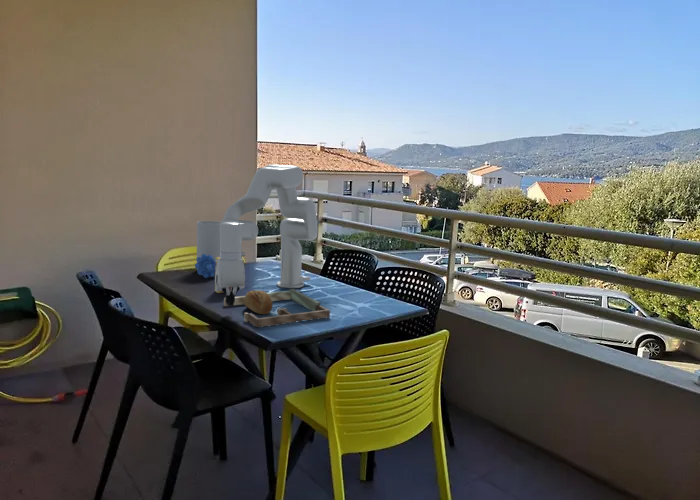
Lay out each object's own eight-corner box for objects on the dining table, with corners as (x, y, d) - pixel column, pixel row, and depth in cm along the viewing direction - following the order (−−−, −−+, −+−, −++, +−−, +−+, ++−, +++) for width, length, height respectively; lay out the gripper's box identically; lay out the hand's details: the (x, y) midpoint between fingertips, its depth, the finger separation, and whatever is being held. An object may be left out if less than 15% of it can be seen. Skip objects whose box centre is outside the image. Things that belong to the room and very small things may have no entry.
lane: (292, 297, 210) (293, 288, 209) (319, 312, 190) (319, 302, 190) (223, 305, 193) (223, 295, 193) (245, 322, 174) (245, 311, 173)
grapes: (199, 281, 230) (199, 256, 228) (192, 278, 235) (192, 253, 233) (221, 278, 238) (222, 254, 236) (215, 275, 243) (215, 251, 241)
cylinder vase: (203, 274, 245) (203, 224, 241) (192, 269, 254) (192, 221, 250) (226, 271, 254) (226, 223, 250) (214, 267, 263) (215, 220, 259)
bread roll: (254, 318, 179) (254, 297, 178) (238, 307, 192) (238, 287, 190) (278, 315, 185) (278, 294, 184) (261, 305, 197) (261, 285, 196)
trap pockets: (319, 312, 190) (319, 305, 190) (329, 317, 184) (329, 310, 184) (248, 321, 175) (248, 313, 174) (256, 328, 168) (256, 319, 168)
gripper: (246, 253, 186) (245, 300, 189) (207, 255, 178) (206, 304, 181) (254, 256, 180) (253, 305, 183) (213, 259, 172) (213, 309, 175)
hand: (230, 304), depth 182 cm, fingers closed
